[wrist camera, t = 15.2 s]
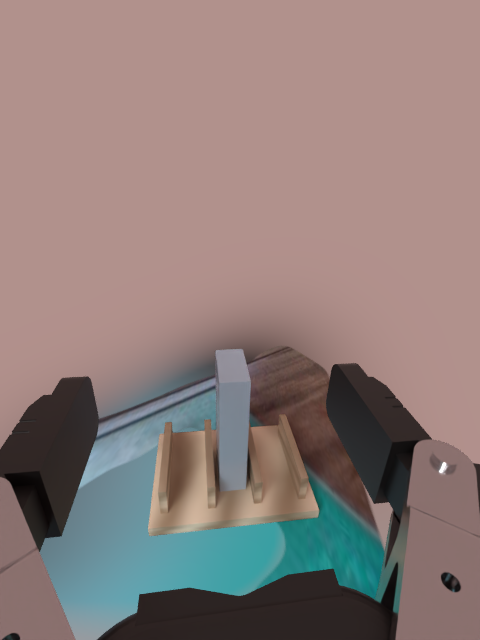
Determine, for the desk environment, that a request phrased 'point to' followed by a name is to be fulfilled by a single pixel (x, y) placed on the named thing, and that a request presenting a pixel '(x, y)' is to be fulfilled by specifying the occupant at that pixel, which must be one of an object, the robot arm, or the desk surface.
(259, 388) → the desk surface
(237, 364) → the grey tall block
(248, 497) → the rack
